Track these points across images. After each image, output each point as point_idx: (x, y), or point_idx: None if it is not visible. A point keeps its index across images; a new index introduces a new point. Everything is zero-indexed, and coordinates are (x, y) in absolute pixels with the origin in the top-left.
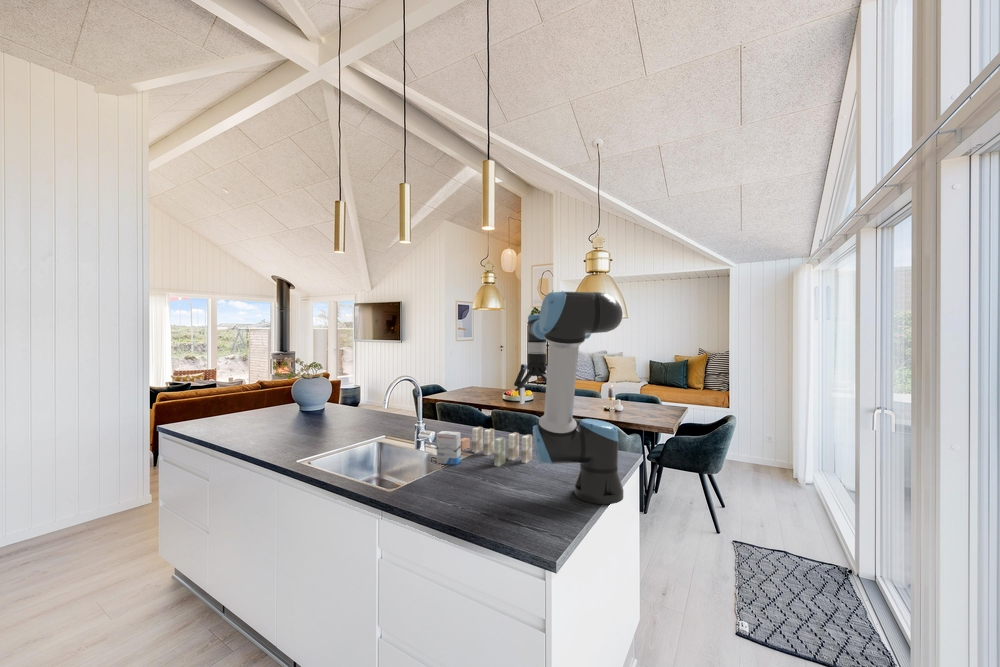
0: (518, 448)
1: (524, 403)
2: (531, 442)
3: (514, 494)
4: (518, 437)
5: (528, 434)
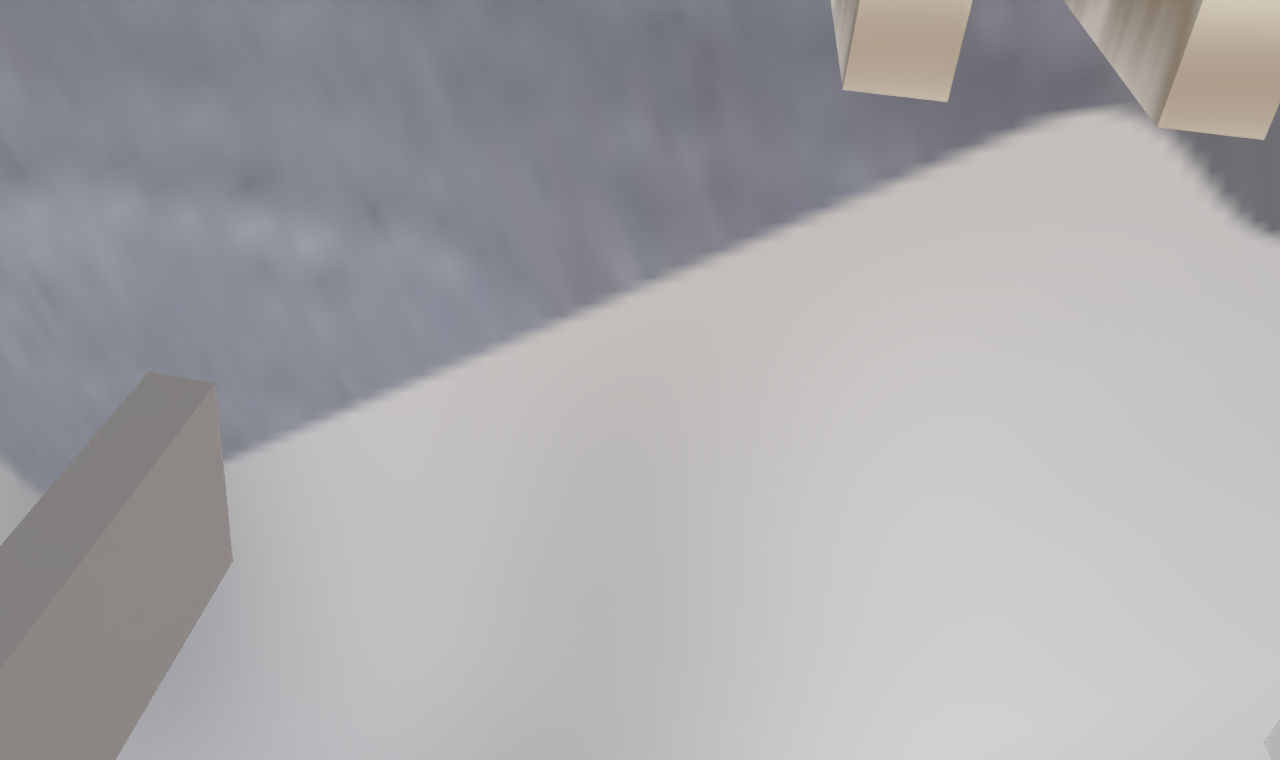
0: (1090, 8)
1: (1272, 731)
2: (841, 21)
3: None
4: (1141, 70)
5: (926, 94)
